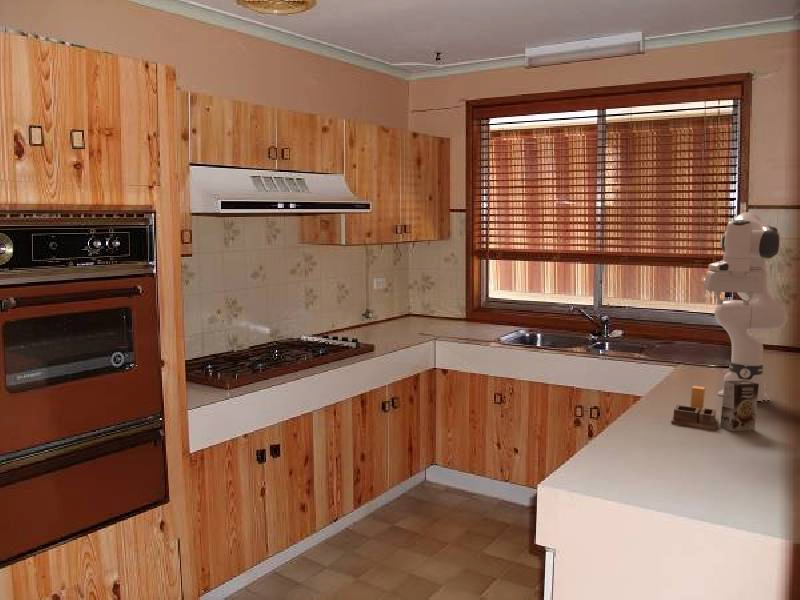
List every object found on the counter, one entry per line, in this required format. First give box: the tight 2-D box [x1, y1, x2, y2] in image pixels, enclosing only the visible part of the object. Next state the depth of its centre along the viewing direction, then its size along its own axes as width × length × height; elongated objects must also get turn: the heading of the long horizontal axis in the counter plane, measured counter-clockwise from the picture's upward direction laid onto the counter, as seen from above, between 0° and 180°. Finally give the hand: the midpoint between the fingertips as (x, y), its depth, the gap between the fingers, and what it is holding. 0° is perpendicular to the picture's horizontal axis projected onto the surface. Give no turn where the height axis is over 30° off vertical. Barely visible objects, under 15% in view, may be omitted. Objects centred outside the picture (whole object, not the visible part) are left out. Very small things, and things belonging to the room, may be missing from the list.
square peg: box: [690, 385, 706, 416], centre depth 257 cm, size 4×4×10 cm
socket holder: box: [670, 404, 719, 431], centre depth 247 cm, size 12×14×4 cm
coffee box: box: [720, 380, 759, 432], centre depth 241 cm, size 9×6×16 cm
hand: (732, 305), depth 253 cm, fingers open, 8 cm apart
